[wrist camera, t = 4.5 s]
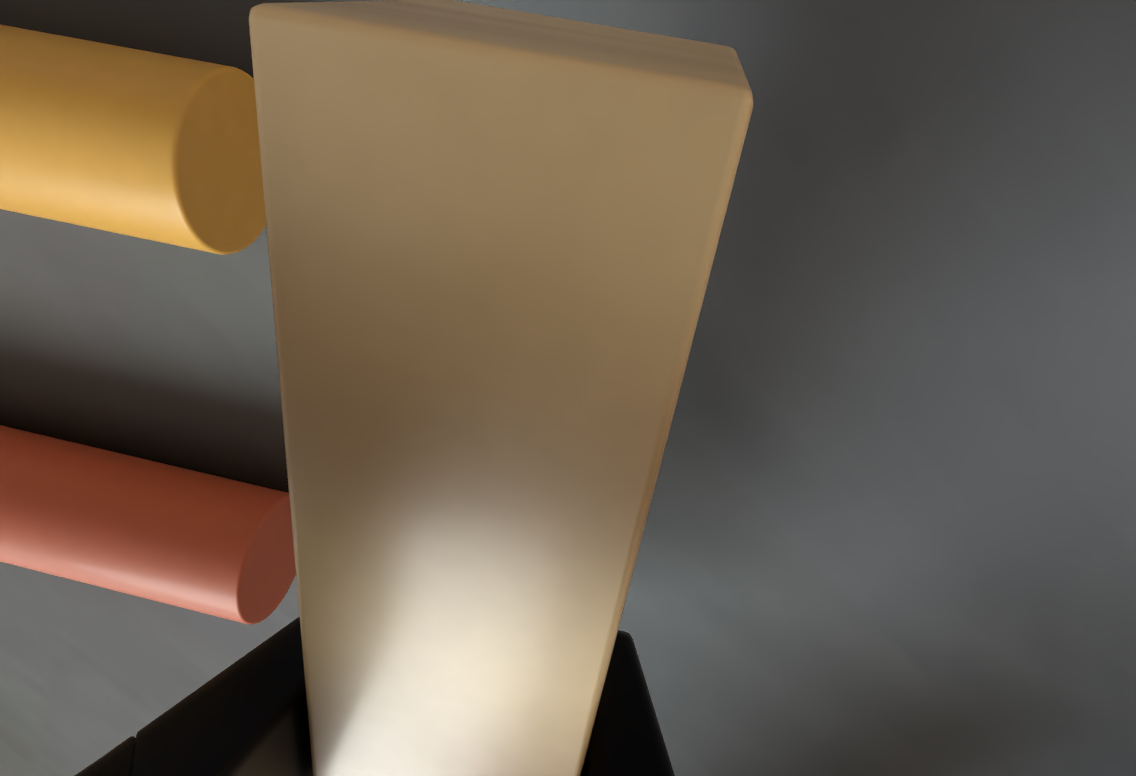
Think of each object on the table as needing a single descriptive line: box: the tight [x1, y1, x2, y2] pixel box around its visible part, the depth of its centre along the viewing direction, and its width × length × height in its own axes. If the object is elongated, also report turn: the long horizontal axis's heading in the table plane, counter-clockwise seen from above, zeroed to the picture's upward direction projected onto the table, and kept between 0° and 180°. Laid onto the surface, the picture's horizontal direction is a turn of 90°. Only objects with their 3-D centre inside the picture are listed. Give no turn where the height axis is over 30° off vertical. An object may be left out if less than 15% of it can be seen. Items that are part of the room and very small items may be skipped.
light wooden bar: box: [249, 0, 754, 776], centre depth 9 cm, size 15×3×4 cm, turn 172°
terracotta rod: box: [0, 425, 296, 624], centre depth 17 cm, size 3×10×3 cm, turn 82°
